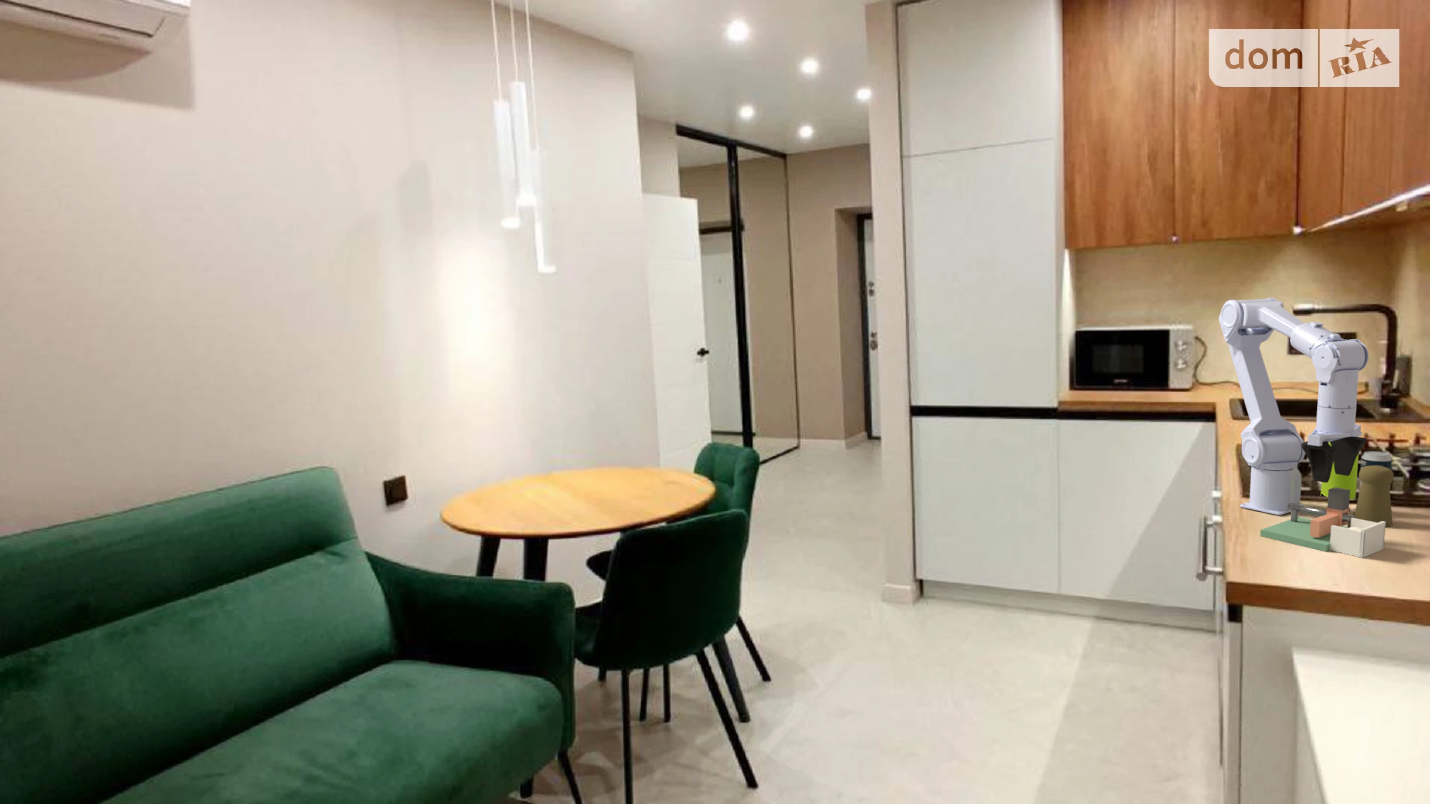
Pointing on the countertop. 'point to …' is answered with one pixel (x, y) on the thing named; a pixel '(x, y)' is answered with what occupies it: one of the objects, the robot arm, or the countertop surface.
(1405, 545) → the countertop surface
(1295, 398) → the countertop surface
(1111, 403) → the countertop surface
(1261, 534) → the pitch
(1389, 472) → the cork
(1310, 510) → the rod
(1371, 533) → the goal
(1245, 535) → the countertop surface
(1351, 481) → the soap dispenser
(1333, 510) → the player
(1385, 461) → the beer can
